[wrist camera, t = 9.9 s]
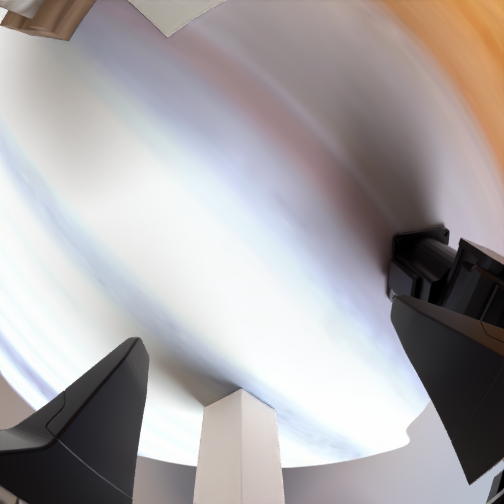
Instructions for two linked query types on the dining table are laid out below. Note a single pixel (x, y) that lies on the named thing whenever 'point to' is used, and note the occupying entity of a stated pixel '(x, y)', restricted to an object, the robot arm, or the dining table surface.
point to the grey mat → (173, 12)
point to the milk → (239, 453)
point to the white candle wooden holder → (45, 16)
